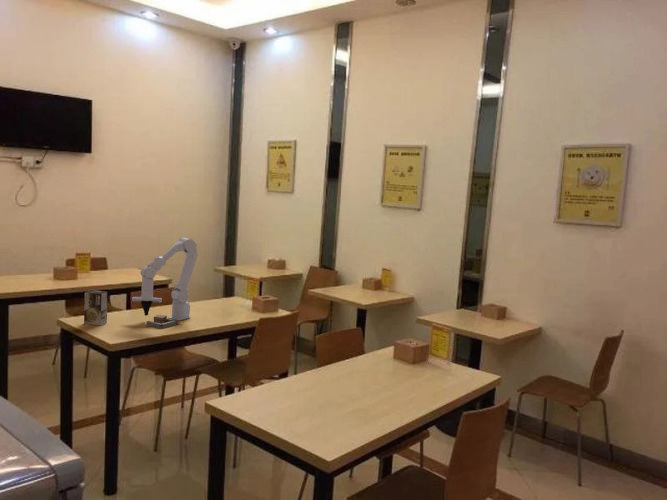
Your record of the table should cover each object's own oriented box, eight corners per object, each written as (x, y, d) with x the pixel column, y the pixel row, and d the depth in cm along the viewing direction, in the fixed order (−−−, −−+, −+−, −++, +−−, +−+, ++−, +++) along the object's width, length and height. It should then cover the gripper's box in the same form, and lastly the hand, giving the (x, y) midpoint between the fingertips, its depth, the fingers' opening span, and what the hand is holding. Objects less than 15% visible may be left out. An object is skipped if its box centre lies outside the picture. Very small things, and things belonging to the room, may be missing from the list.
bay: (162, 320, 288) (162, 317, 288) (177, 324, 284) (177, 320, 284) (146, 325, 277) (146, 321, 277) (161, 328, 273) (161, 324, 273)
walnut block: (157, 322, 285) (157, 314, 285) (166, 323, 285) (166, 315, 285) (153, 324, 280) (153, 316, 280) (162, 325, 280) (163, 317, 280)
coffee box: (107, 322, 275) (108, 291, 274) (100, 325, 269) (102, 293, 267) (90, 320, 276) (91, 289, 274) (83, 323, 270) (84, 291, 268)
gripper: (163, 288, 288) (161, 313, 290) (134, 287, 286) (133, 312, 287) (160, 291, 281) (159, 317, 283) (131, 290, 279) (130, 315, 281)
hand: (146, 315), depth 285 cm, fingers closed
